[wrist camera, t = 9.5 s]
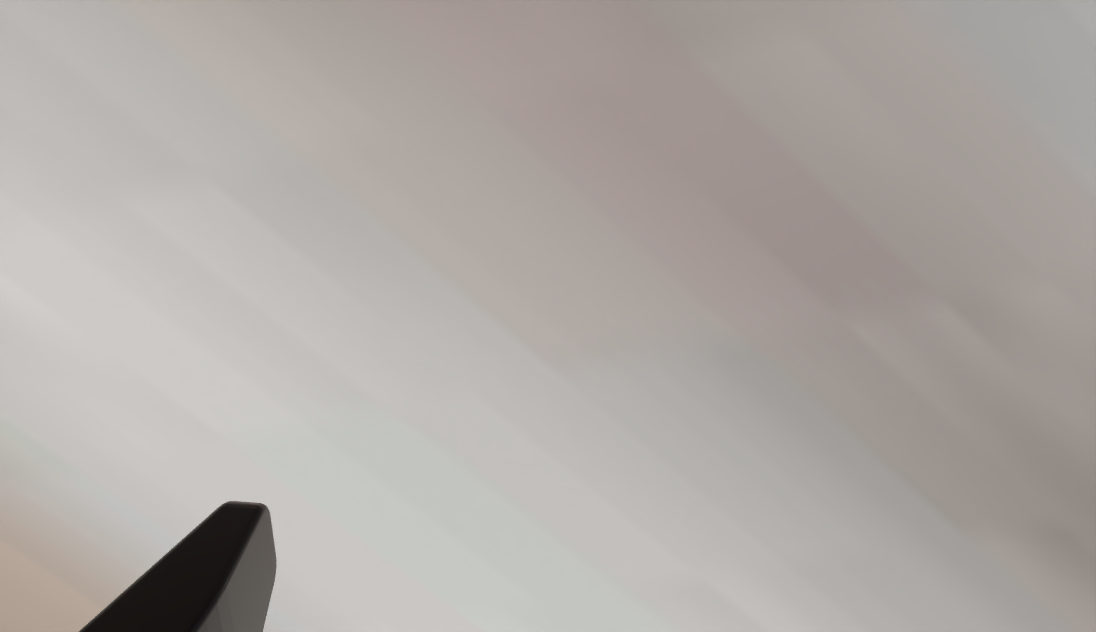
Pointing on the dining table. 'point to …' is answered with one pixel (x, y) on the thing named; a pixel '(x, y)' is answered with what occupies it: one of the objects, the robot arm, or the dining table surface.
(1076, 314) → the dining table surface
